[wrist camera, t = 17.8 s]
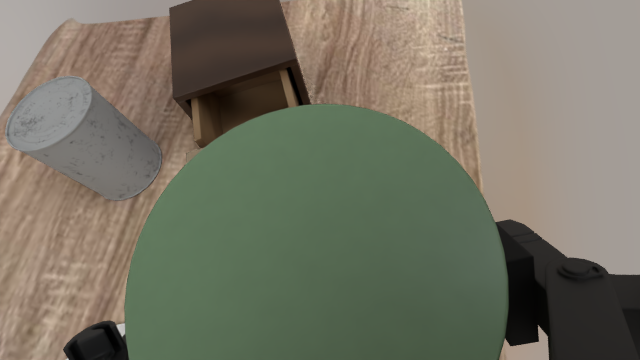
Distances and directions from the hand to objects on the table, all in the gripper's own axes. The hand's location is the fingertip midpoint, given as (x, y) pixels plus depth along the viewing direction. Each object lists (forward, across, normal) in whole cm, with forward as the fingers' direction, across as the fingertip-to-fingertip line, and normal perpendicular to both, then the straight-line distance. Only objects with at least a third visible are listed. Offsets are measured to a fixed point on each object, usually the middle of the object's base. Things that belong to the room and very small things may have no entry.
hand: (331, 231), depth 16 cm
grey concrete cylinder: (+30, -27, +1) cm, 40 cm away
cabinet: (+36, -9, +7) cm, 37 cm away
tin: (+1, 0, -5) cm, 5 cm away
